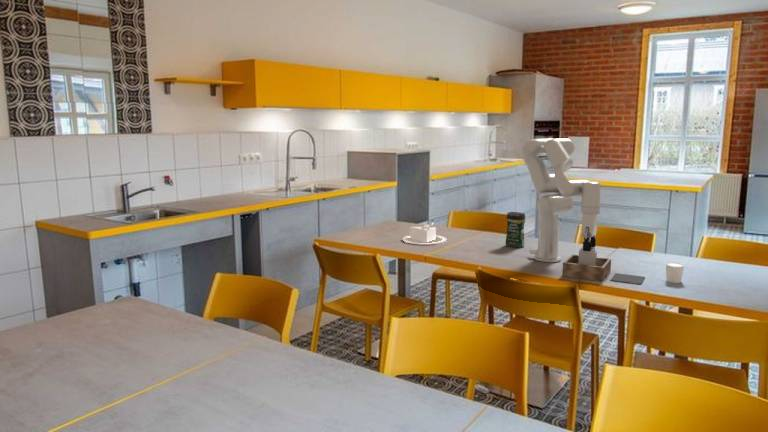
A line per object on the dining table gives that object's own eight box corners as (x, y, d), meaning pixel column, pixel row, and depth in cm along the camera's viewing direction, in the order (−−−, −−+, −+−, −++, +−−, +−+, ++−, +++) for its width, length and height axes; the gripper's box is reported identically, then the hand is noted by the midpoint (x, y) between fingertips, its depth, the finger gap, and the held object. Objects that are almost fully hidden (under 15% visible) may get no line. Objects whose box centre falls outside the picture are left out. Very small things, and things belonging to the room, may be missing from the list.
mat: (610, 280, 242) (610, 279, 242) (615, 273, 252) (615, 273, 252) (641, 284, 236) (641, 283, 235) (645, 277, 246) (645, 276, 246)
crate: (562, 275, 250) (562, 262, 249) (571, 267, 264) (572, 254, 263) (603, 281, 241) (603, 267, 240) (610, 271, 255) (611, 258, 254)
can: (596, 276, 248) (598, 249, 246) (578, 275, 249) (580, 249, 247) (594, 272, 255) (595, 245, 253) (576, 271, 257) (578, 245, 255)
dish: (453, 239, 326) (453, 219, 324) (433, 248, 306) (433, 227, 304) (416, 234, 339) (416, 216, 337) (394, 243, 319) (394, 223, 317)
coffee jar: (503, 246, 306) (504, 212, 303) (509, 243, 313) (510, 210, 309) (520, 248, 300) (521, 214, 297) (526, 246, 307) (527, 211, 303)
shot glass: (661, 278, 244) (662, 262, 243) (676, 278, 244) (678, 262, 243) (670, 283, 237) (671, 267, 236) (686, 282, 238) (687, 266, 237)
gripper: (585, 207, 256) (584, 244, 259) (576, 212, 242) (575, 251, 244) (603, 208, 253) (602, 246, 255) (595, 213, 238) (594, 253, 240)
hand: (589, 248), depth 250 cm, fingers open, 9 cm apart
